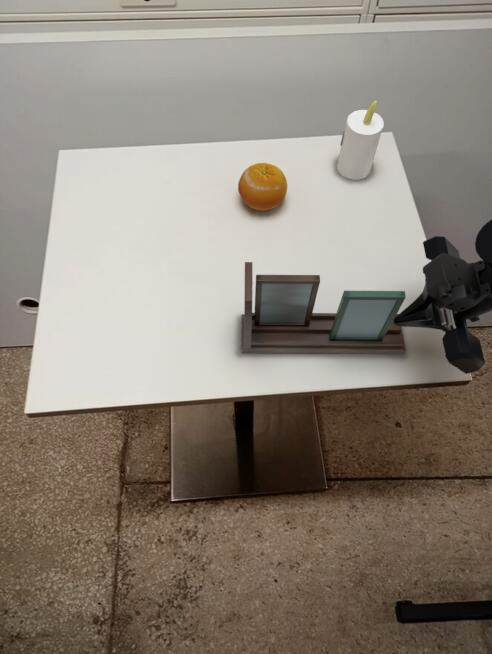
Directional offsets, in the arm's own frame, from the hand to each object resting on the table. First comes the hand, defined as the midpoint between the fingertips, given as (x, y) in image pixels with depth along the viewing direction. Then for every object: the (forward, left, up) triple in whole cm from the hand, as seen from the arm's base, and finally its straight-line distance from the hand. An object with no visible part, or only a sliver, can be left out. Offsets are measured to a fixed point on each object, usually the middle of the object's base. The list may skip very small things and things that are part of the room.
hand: (395, 322), depth 72 cm
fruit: (+19, -29, -7) cm, 35 cm away
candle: (+1, -38, -7) cm, 38 cm away
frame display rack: (+10, -1, -7) cm, 12 cm away
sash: (+5, 0, -5) cm, 7 cm away
